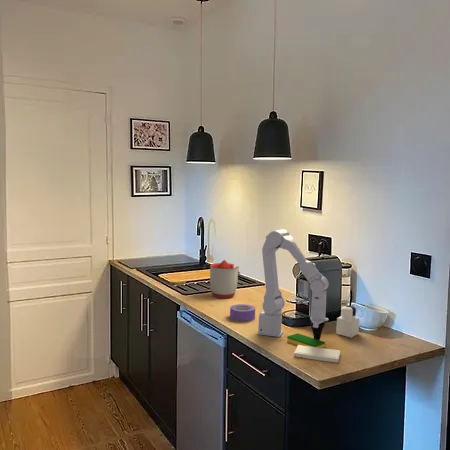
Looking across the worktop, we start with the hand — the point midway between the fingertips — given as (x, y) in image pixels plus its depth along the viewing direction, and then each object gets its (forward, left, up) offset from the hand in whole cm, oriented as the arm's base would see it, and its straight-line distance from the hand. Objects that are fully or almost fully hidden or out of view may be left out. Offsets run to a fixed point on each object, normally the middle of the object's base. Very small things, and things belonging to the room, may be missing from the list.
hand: (316, 339), depth 193 cm
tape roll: (-37, +21, -2) cm, 43 cm away
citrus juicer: (-57, +56, -1) cm, 80 cm away
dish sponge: (-4, -3, -2) cm, 5 cm away
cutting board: (+2, -14, -1) cm, 14 cm away
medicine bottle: (+11, +16, -1) cm, 19 cm away
